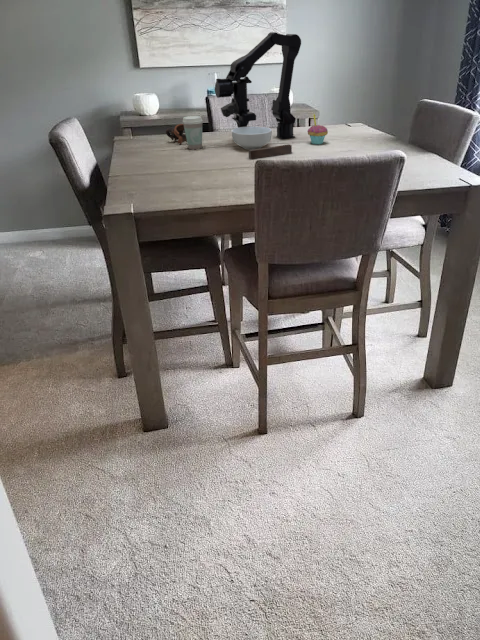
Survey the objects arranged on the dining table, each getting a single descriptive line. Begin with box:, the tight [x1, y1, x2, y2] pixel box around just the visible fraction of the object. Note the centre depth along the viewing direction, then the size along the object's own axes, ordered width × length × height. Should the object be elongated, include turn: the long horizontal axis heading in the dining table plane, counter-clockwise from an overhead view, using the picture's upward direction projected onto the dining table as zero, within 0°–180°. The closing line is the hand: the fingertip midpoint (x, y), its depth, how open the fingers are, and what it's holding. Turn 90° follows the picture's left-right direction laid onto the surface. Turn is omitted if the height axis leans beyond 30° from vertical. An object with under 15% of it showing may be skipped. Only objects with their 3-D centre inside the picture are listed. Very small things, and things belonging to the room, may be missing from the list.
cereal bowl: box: [231, 125, 273, 151], centre depth 206 cm, size 17×17×7 cm
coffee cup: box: [182, 115, 204, 150], centre depth 208 cm, size 8×9×12 cm
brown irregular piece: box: [165, 123, 187, 145], centre depth 220 cm, size 12×10×8 cm
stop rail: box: [248, 144, 293, 160], centre depth 195 cm, size 18×2×3 cm, turn 116°
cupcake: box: [307, 112, 329, 145], centre depth 208 cm, size 9×8×12 cm
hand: (241, 135), depth 215 cm, fingers closed
